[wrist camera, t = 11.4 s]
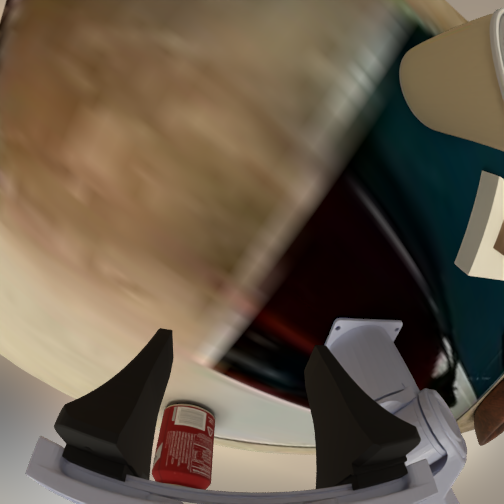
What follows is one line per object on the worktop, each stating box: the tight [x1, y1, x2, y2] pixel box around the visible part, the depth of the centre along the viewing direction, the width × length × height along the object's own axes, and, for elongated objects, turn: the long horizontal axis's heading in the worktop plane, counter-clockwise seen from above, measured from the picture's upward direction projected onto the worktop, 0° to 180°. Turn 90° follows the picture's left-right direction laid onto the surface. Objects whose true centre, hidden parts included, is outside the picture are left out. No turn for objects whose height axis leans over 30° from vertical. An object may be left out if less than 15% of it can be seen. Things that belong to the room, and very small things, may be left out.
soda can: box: [152, 404, 215, 490], centre depth 25 cm, size 7×7×12 cm
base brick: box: [454, 171, 504, 280], centre depth 19 cm, size 10×10×3 cm
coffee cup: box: [399, 8, 504, 151], centre depth 10 cm, size 9×9×12 cm
